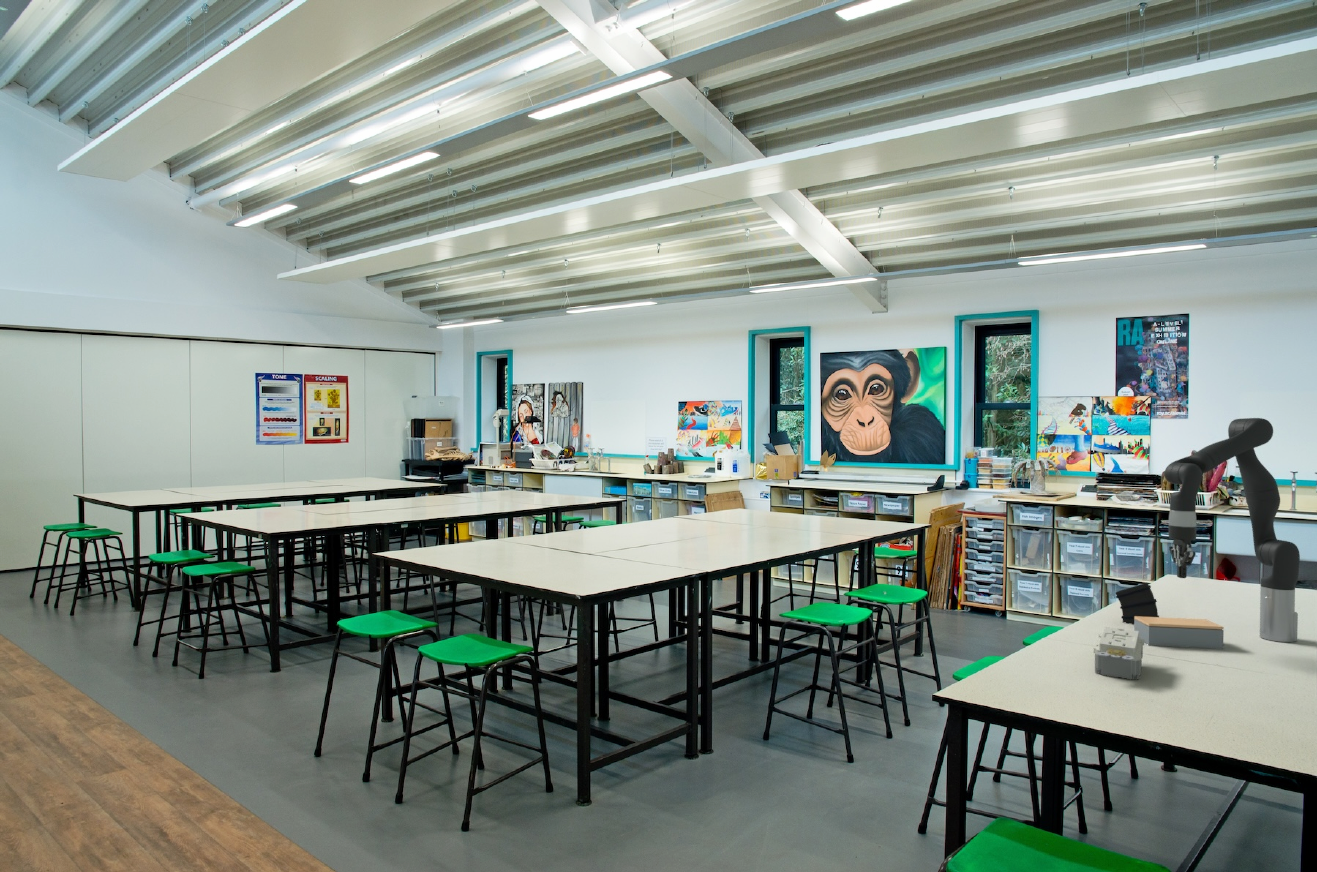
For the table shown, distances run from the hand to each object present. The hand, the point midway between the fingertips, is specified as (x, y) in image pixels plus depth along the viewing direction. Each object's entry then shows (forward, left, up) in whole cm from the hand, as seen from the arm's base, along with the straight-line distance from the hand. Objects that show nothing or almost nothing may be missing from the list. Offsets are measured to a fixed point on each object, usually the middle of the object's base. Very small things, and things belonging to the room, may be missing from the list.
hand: (1181, 577), depth 263 cm
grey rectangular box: (0, -2, -22) cm, 22 cm away
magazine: (+2, -28, -22) cm, 36 cm away
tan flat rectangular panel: (0, -2, -16) cm, 16 cm away
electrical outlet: (+32, +35, -22) cm, 52 cm away
